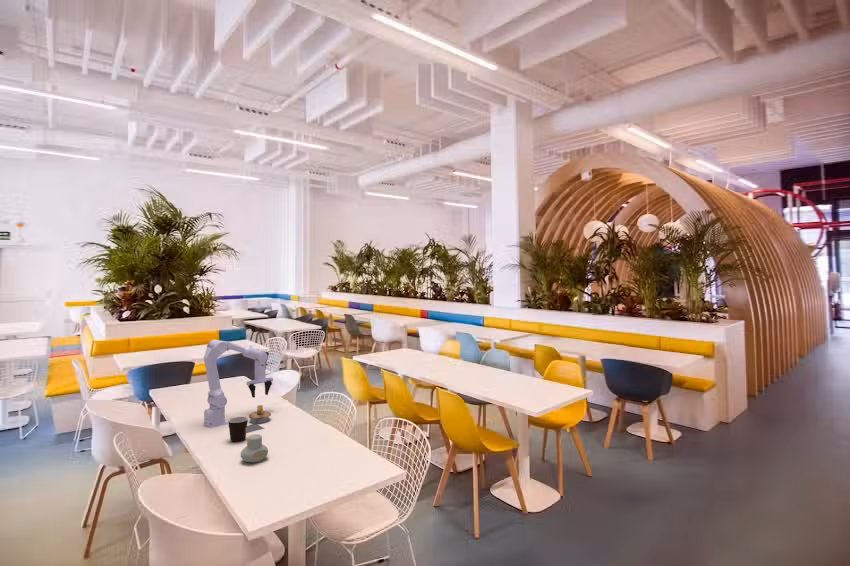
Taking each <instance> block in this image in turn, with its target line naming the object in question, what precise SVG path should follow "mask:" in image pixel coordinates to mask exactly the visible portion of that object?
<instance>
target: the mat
mask: <svg viewBox="0 0 850 566" xmlns="http://www.w3.org/2000/svg"><path fill="white" fill-rule="evenodd" d="M262 430H265V427H262V426H261V425H259V423H252V424H247V431H246V434H249V433H253V432H256V431H262Z"/></svg>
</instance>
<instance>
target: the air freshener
mask: <svg viewBox="0 0 850 566" xmlns="http://www.w3.org/2000/svg"><path fill="white" fill-rule="evenodd" d="M246 437H247V438H246V446H245V447H244V448H243V449H242V450H241V451H240V458H241V460H243V461H244V462H246V463H251V464H252V463H254V464H255V463H259V462H261V461H262V460H264V459H265V458H266V457H267V456H268V453H269V449H268V447H267V446H266V445H265V444H263V436H262V435H261V434H255V433H254V434H251V435H249V436H246Z"/></svg>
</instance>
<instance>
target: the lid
mask: <svg viewBox="0 0 850 566" xmlns="http://www.w3.org/2000/svg"><path fill="white" fill-rule="evenodd" d="M263 408H264V406H263V405H261V404H260V405H259V404H258V405H257V406H256V411H253V412H251V413H249V414H248V419H250V418H251V419H263V418H267V417H270V416H272V414H271V412H270V411H267V410H263Z"/></svg>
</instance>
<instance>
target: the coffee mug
mask: <svg viewBox="0 0 850 566" xmlns="http://www.w3.org/2000/svg"><path fill="white" fill-rule="evenodd" d="M248 421H249V417H247V416H236V417H235V416H234V417H231V418H230V419H228V421H227V423H228V429H229V430H228V431H229V436H230V442H231V443H242V442H244V441H245V440H247V438H246V437H247V433H246V431H247V426H248Z"/></svg>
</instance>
